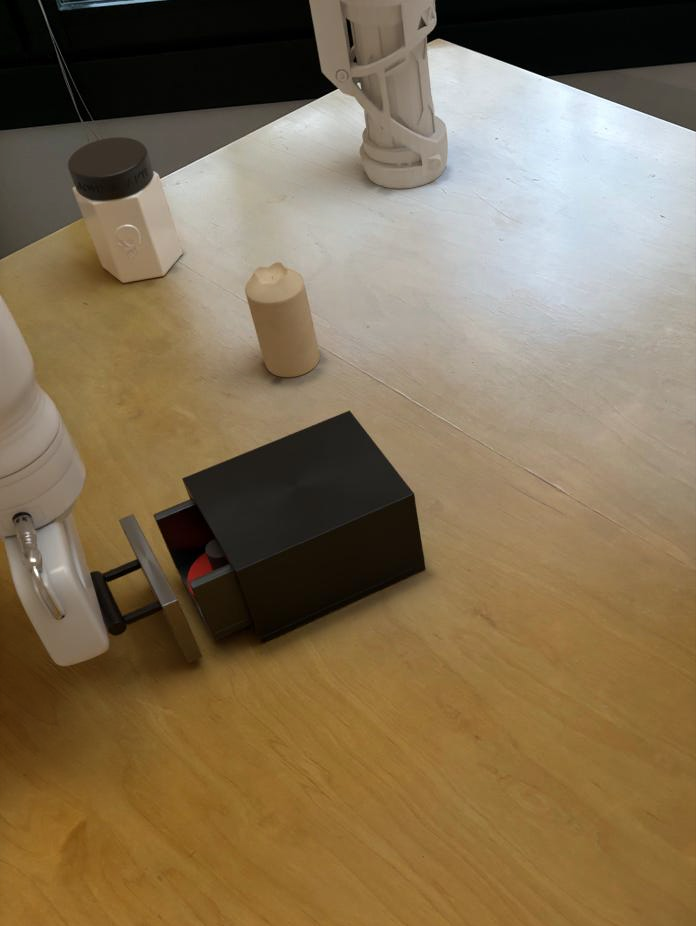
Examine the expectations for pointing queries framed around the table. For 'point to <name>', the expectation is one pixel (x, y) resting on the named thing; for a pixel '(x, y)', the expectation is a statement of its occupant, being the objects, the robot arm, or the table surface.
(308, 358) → the candle
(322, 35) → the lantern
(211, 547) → the lid
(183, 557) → the drawer
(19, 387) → the robot arm
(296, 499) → the cabinet
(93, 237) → the jar
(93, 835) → the table surface
